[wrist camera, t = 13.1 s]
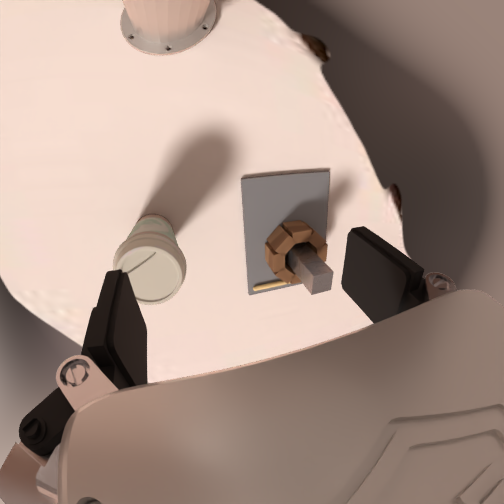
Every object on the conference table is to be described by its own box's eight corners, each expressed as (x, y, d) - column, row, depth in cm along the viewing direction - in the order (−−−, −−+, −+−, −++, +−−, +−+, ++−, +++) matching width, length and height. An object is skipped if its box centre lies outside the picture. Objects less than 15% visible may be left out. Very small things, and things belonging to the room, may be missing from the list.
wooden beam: (282, 239, 44) (313, 276, 34) (299, 236, 44) (333, 271, 35) (281, 256, 45) (311, 294, 36) (298, 253, 46) (330, 289, 36)
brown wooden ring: (264, 225, 41) (273, 236, 38) (316, 217, 43) (329, 227, 40) (265, 275, 46) (273, 288, 42) (313, 264, 48) (324, 276, 44)
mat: (240, 178, 38) (243, 180, 36) (327, 171, 41) (332, 173, 40) (248, 293, 47) (250, 298, 46) (320, 277, 50) (323, 281, 49)
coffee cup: (181, 203, 37) (186, 238, 27) (183, 257, 41) (189, 306, 31) (121, 206, 35) (103, 243, 24) (128, 260, 38) (118, 311, 28)
